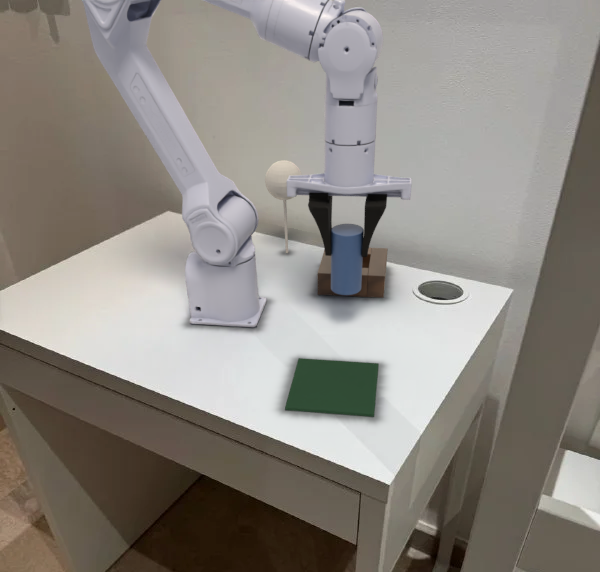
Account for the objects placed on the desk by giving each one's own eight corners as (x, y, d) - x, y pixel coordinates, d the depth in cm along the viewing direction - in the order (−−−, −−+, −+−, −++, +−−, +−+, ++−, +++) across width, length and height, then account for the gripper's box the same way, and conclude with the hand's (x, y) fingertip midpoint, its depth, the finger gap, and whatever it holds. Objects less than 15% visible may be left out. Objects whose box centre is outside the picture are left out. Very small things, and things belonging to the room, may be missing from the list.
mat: (285, 410, 67) (284, 407, 66) (298, 360, 74) (298, 358, 74) (374, 417, 65) (374, 414, 65) (378, 365, 73) (378, 363, 73)
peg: (329, 294, 76) (329, 235, 71) (332, 280, 79) (332, 222, 75) (360, 296, 76) (362, 236, 71) (362, 281, 79) (364, 223, 74)
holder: (317, 294, 88) (317, 273, 86) (325, 266, 96) (325, 245, 93) (383, 298, 87) (385, 276, 84) (386, 268, 94) (387, 248, 92)
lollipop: (311, 255, 99) (309, 162, 90) (280, 263, 97) (275, 169, 88) (293, 242, 103) (290, 153, 94) (263, 250, 101) (257, 159, 92)
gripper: (415, 130, 68) (405, 242, 77) (291, 129, 70) (295, 238, 79) (415, 147, 63) (405, 265, 71) (281, 146, 65) (286, 261, 73)
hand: (347, 253), depth 75 cm, fingers closed on peg, 4 cm apart
